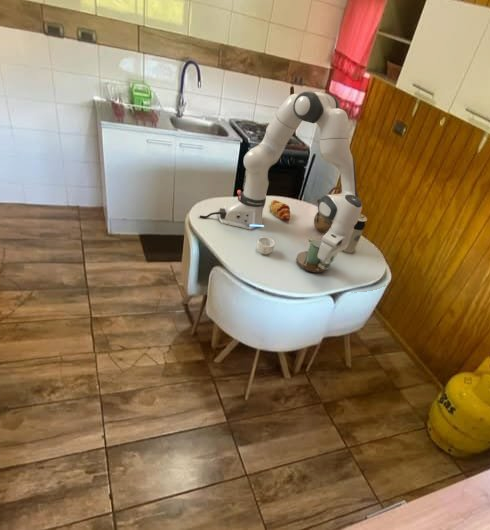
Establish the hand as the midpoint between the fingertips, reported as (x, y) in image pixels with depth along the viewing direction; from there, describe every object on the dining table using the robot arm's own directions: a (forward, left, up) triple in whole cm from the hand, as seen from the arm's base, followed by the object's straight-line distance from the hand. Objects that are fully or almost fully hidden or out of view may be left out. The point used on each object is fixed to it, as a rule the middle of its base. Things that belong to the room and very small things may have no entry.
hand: (328, 261), depth 161 cm
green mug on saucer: (-4, +5, -5) cm, 9 cm away
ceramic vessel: (+8, +39, -7) cm, 40 cm away
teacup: (-26, +13, -7) cm, 30 cm away
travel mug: (+17, +24, -7) cm, 30 cm away
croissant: (-13, +51, -7) cm, 53 cm away
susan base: (-5, +6, -7) cm, 10 cm away
